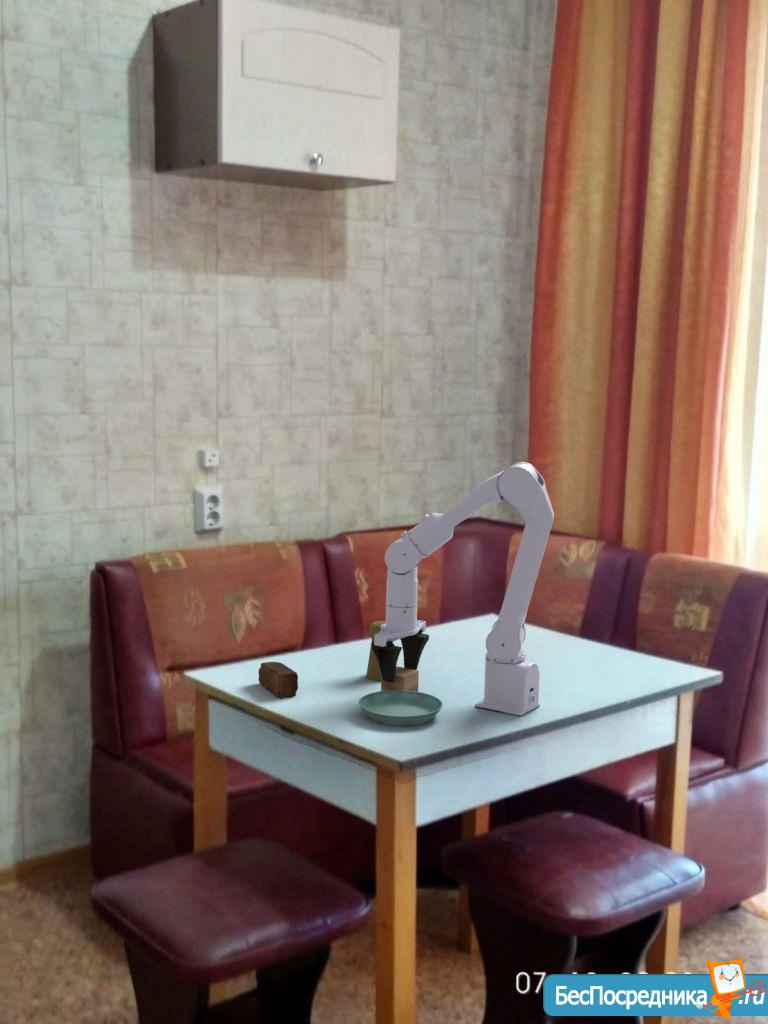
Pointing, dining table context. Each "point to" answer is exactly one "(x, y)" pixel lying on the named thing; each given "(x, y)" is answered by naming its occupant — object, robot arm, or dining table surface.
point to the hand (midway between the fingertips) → (399, 676)
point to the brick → (278, 679)
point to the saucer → (400, 707)
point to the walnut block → (402, 680)
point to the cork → (373, 664)
